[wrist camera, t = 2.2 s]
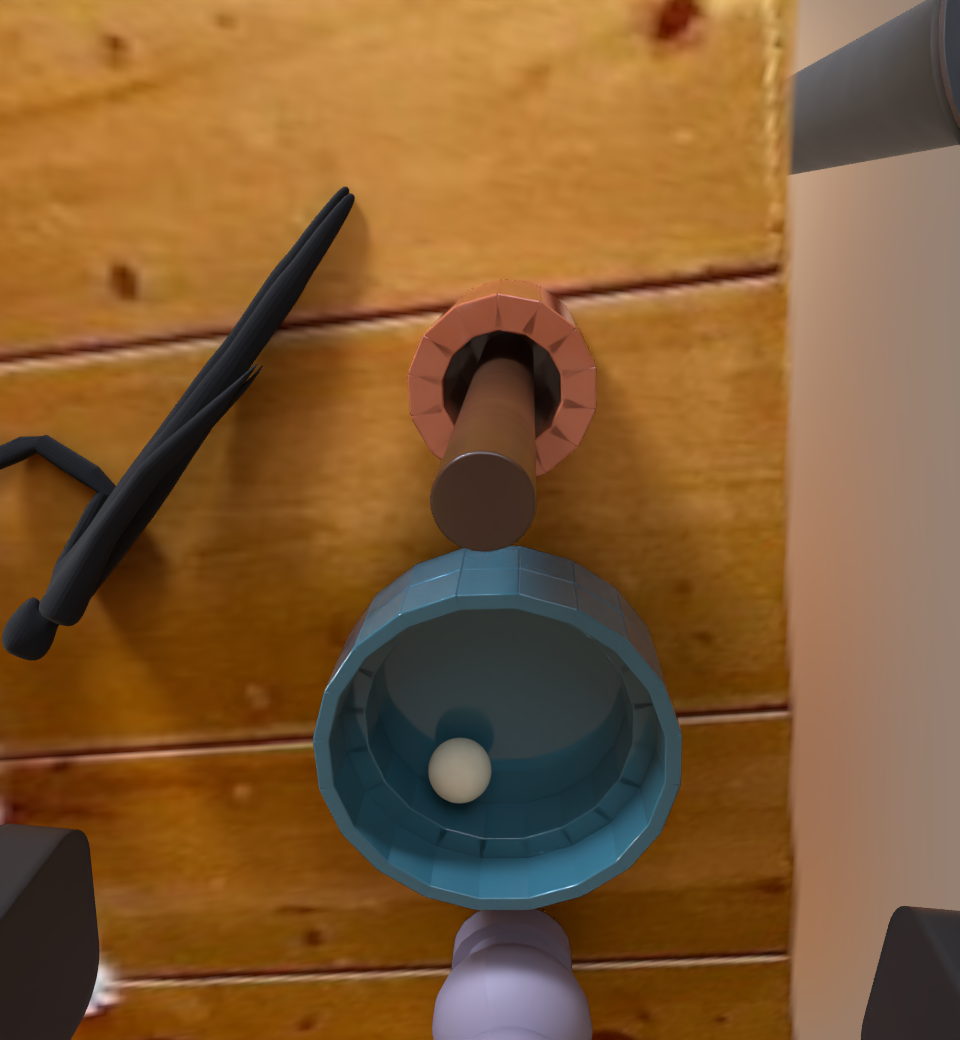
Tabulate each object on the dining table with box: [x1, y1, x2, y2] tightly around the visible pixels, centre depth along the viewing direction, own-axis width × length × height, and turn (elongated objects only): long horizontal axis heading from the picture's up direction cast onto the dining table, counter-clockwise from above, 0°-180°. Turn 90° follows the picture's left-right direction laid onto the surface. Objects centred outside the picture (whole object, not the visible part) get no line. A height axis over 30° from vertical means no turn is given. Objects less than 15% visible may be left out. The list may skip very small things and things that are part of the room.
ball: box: [428, 738, 491, 803], centre depth 42 cm, size 3×3×3 cm
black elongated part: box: [0, 187, 354, 660], centre depth 36 cm, size 8×9×25 cm
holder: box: [407, 279, 597, 477], centre depth 34 cm, size 6×6×8 cm
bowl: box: [313, 546, 682, 910], centre depth 40 cm, size 15×15×6 cm
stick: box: [430, 333, 537, 552], centre depth 28 cm, size 2×2×20 cm
